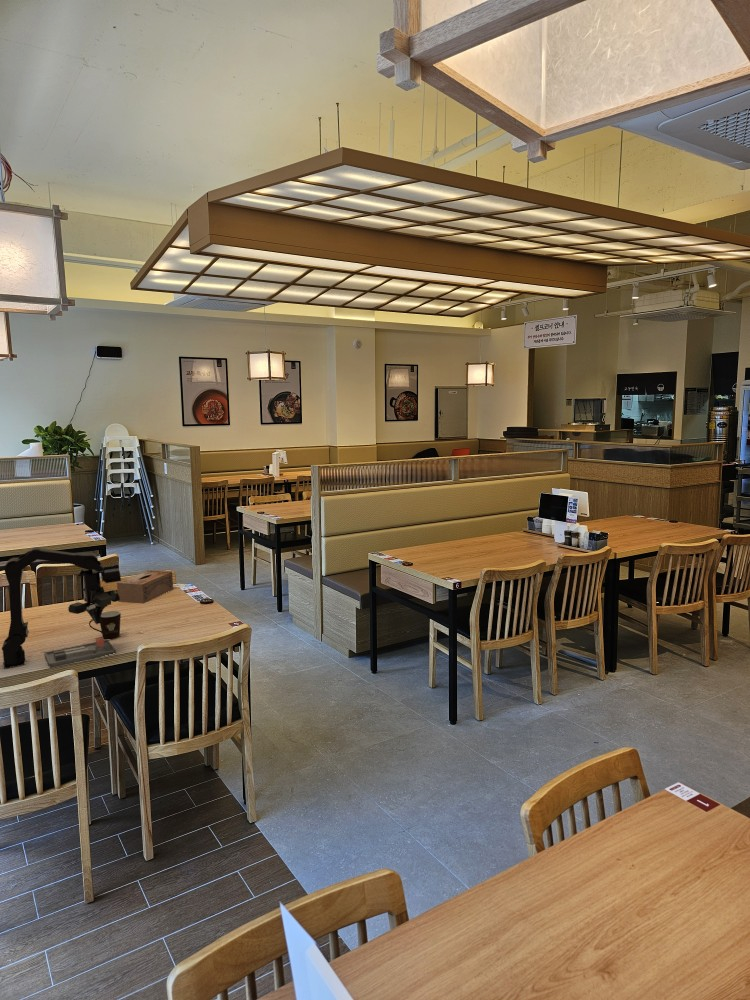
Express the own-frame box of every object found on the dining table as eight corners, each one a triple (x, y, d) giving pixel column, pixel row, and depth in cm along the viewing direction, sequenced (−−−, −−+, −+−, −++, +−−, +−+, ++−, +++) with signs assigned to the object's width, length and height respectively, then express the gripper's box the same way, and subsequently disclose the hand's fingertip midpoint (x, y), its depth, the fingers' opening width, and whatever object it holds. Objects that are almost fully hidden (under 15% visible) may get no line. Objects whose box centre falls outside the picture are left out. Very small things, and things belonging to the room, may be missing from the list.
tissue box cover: (149, 588, 336) (148, 570, 334) (173, 589, 332) (172, 571, 330) (118, 602, 311) (116, 582, 310) (143, 604, 307) (142, 584, 306)
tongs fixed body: (55, 661, 233) (55, 656, 232) (54, 658, 236) (53, 652, 236) (105, 651, 243) (105, 645, 242) (103, 647, 246) (103, 642, 246)
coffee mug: (125, 633, 265) (123, 610, 264) (117, 640, 256) (116, 616, 255) (97, 633, 265) (96, 611, 263) (89, 641, 256) (87, 617, 255)
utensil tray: (49, 668, 229) (49, 663, 228) (44, 656, 240) (44, 652, 240) (116, 653, 242) (115, 649, 241) (108, 643, 253) (107, 639, 253)
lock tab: (97, 646, 241) (97, 640, 241) (95, 644, 244) (95, 638, 244) (104, 645, 242) (103, 639, 242) (102, 642, 245) (101, 636, 245)
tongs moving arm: (54, 658, 235) (54, 653, 235) (53, 656, 237) (53, 651, 237) (85, 652, 241) (85, 647, 241) (85, 651, 243) (84, 645, 242)
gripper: (82, 594, 229) (87, 635, 231) (126, 581, 244) (130, 619, 247) (65, 590, 235) (70, 630, 237) (109, 578, 250) (113, 615, 253)
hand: (97, 623), depth 243 cm, fingers closed
